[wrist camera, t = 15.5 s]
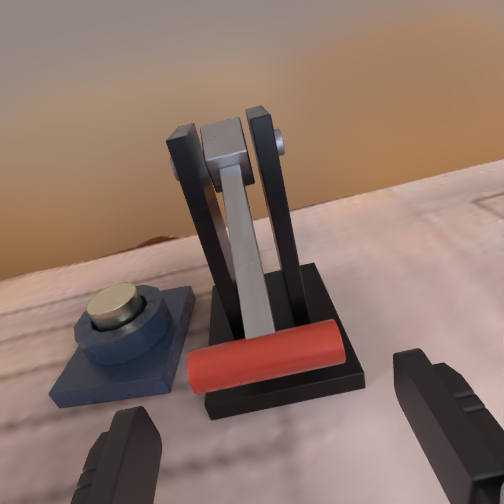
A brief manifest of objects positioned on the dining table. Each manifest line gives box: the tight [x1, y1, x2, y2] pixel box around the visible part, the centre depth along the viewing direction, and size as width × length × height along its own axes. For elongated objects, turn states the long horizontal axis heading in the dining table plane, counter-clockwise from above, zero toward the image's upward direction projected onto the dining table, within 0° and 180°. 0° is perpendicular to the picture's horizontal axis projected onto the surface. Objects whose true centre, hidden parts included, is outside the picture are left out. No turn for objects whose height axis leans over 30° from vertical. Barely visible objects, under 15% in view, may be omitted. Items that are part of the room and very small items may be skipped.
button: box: [86, 283, 145, 332], centre depth 25 cm, size 4×4×2 cm
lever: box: [187, 117, 346, 395], centre depth 15 cm, size 13×5×2 cm, turn 4°
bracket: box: [166, 106, 365, 420], centre depth 21 cm, size 12×9×15 cm
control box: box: [49, 285, 196, 408], centre depth 26 cm, size 10×8×4 cm
